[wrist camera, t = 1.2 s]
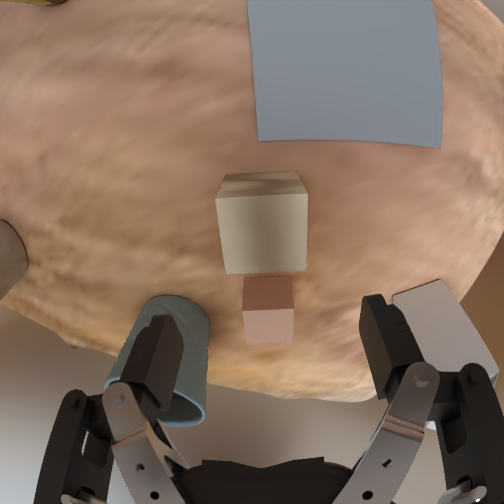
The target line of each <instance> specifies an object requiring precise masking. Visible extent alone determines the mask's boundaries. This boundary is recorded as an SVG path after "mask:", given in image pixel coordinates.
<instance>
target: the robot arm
mask: <svg viewBox="0 0 504 504" xmlns="http://www.w3.org/2000/svg"><path fill="white" fill-rule="evenodd" d="M27 266H28V262H27V255H26V252H25V249H24V246H23V244H22V242H21V240H20V238H19V236H18V235H17V233H16V232H15V231H14V229H13V228H12V227H11V226H10V225H9V224H7V223H6V222H4V221H2V220H0V301H1V300H2V299H3V297H4V296H5V295H6V294H7V293H8V291H9V290H10V289H11V288H12V287H13V286H14V285H15V284H16V282H17V281H18V280H19V279H20V278H21V277H22V276H23V275H24V273H25V272H26V270H27ZM359 331H360V336H361V340H362V343H363V346H364V349H365V353H366V356H367V359H368V363H369V366H370V370H371V373H372V377H373V381H374V384H375V388H376V392H377V396H378V399H379V400H380V399H384V398H387V401H388V407H387V409H386V411H385V413H384V415H383V417H382V419H381V421H380V423H379V425H378V426H377V428H376V430H375V432H374V434H373V435H372V437H371V439H370V441H369V443H368V444H367V446H366V447H365V449H364V450H363V452H362V454H361V455H360V457H359V458H358V460H357V462H356V463H355V465H354V466H353V468H352V469H350V468H348V467H345V466H343V465H340V464H337V463H331V462H324V457H317V458H309V459H300V460H292V461H288V462H285V463H281V464H278V465H274V466H270V467H266V468H256V467H252V466H247V465H243V464H239V463H235V462H232V461H215V460H202V465H200V466H196V467H192V468H190V467H189V465H188V464H187V463H186V461H185V460H184V459H183V458H182V457H181V456H180V454H179V453H178V452H177V450H176V449H175V447H174V445H173V443H172V442H171V440H170V438H169V436H168V434H167V433H166V431H165V429H164V427H163V425H162V423H161V421H160V420H159V418H158V415H159V411H162V412H169V409H170V404H171V400H172V396H173V391H174V387H175V383H176V379H177V375H178V371H179V367H180V363H181V359H182V355H183V351H184V340H183V337H182V335H181V333H180V331H179V329H178V326H177V324H176V322H175V320H174V318H173V316H172V315H171V314H162V315H154V316H153V317H152V319H151V322H150V324H149V327H144V328H143V329H142V330H141V331H140V333H139V334H138V335H137V337H136V339H135V342H134V344H133V345H134V346H133V347H132V349H131V351H130V352H131V353H130V354H129V356H128V359H127V361H126V364H125V366H124V369H123V372H122V374H121V377H120V379H119V382H118V383H114V384H112V385H110V386H109V387H108V388H107V389H106V390H105V391H104V393H103V394H99V395H92V396H87V395H86V394H85V393H84V392H83V391H81V390H78V389H75V390H72V391H70V392H68V393H67V394H66V395H65V397H64V398H63V401H62V403H61V406H60V409H59V412H58V414H57V417H56V420H55V423H54V426H53V429H52V432H51V435H50V438H49V442H48V445H47V448H46V452H45V455H44V459H43V463H42V466H41V471H40V475H39V479H38V484H37V488H36V493H35V498H34V503H33V504H107V502H106V501H107V495H108V489H109V483H110V477H111V471H112V465H113V461H114V457H115V459H116V462H117V464H118V467H119V469H120V472H121V474H122V476H123V478H124V481H125V483H126V485H127V487H128V489H129V491H130V493H131V495H132V497H133V499H134V501H135V503H136V504H395V503H394V502H393V501H392V499H393V498H394V496H395V494H396V492H397V491H398V489H399V487H400V486H401V484H402V482H403V480H404V478H405V476H406V474H407V473H408V471H409V469H410V467H411V465H412V463H413V460H414V458H415V456H416V454H417V452H418V450H419V447H420V445H421V443H422V440H423V437H424V432H423V428H424V426H425V423H426V421H434V422H435V426H436V430H437V435H438V440H439V444H440V450H441V455H442V461H443V466H444V473H445V480H446V488H447V491H445V492H444V493H443V494H442V496H441V497H440V498H439V500H438V503H437V504H504V416H503V413H502V411H501V407H500V404H499V402H498V399H497V396H496V393H495V391H494V388H493V385H492V383H491V380H490V378H489V375H488V373H487V371H486V370H485V368H484V367H483V366H481V365H480V364H477V363H468V364H466V365H464V366H463V367H462V369H461V370H460V372H444V371H438V370H437V369H436V368H435V367H434V366H433V365H431V364H429V363H427V362H426V361H425V359H424V357H423V355H422V353H421V351H420V348H419V346H418V344H417V342H416V339H415V337H414V335H413V333H412V331H411V329H410V327H409V324H408V323H407V320H406V318H405V316H404V314H403V312H402V311H401V310H400V309H399V308H398V307H396V306H395V305H394V304H391V305H387V304H386V302H385V300H384V298H383V296H382V294H375V295H369V296H364V297H363V299H362V306H361V313H360V320H359ZM86 431H88V432H89V434H88V437H87V441H86V445H85V449H84V453H83V455H82V446H83V442H84V438H85V435H86Z"/></svg>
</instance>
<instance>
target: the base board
mask: <svg viewBox="0 0 504 504" xmlns="http://www.w3.org/2000/svg"><path fill="white" fill-rule="evenodd" d="M247 7H248V18H249V29H250V41H251V52H252V64H253V76H254V89H255V102H256V115H257V129H258V141H275V140H353V141H372V142H385V143H397V144H407V145H416V146H424V147H431V148H438V149H441V141H442V121H443V86H442V67H441V55H440V45H439V37H438V30H437V24H436V18H435V13H434V8H433V3H432V0H247Z"/></svg>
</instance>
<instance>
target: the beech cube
mask: <svg viewBox="0 0 504 504" xmlns="http://www.w3.org/2000/svg"><path fill="white" fill-rule="evenodd" d="M215 202H216V209H217V217H218V224H219V231H220V238H221V245H222V252H223V259H224V265H225V272H226V274H247V273H269V272H288V271H306V258H307V222H308V193H307V191H306V189H305V187H304V185H303V183H302V181H301V179H300V177H299V175H298V173H297V171H284V172H262V173H246V174H232V175H225V177H224V179H223V182H222V184H221V186H220V188H219V191H218V193H217V195H216V198H215Z"/></svg>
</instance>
